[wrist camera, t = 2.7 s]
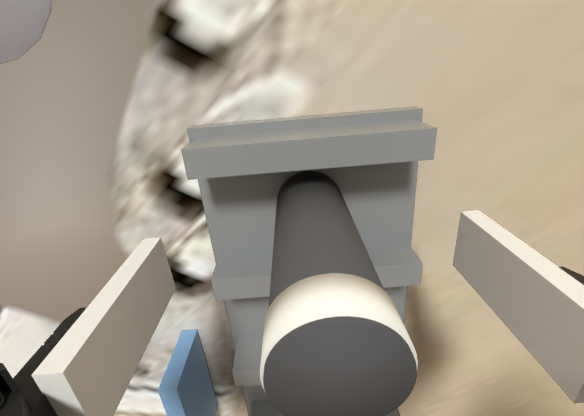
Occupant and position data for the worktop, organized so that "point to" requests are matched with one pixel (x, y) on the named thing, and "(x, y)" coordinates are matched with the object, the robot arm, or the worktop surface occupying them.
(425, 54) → the worktop surface
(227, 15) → the worktop surface
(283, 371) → the grey banded cylinder
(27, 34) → the soap bottle
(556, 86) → the worktop surface
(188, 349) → the blue rectangular block
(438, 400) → the worktop surface
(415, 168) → the grey slotted rack
